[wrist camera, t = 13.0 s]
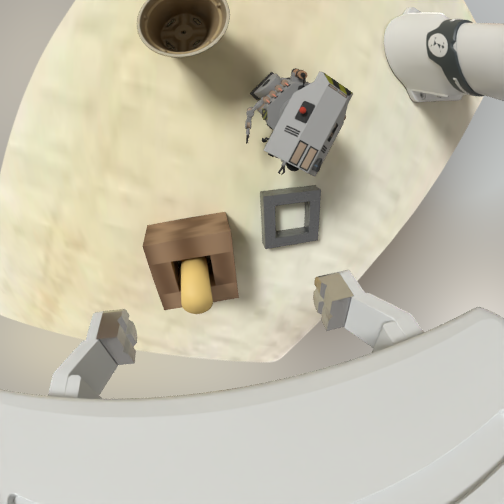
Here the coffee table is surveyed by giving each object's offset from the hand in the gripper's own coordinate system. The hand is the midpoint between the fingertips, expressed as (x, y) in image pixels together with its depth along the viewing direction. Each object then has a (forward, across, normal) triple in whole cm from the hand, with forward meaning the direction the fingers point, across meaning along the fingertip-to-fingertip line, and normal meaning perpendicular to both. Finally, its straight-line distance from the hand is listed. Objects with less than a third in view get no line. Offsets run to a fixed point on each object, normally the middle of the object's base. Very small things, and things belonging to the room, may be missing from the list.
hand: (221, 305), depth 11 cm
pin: (+29, +4, +16) cm, 34 cm away
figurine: (+30, -10, -3) cm, 32 cm away
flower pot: (+30, +1, -16) cm, 34 cm away
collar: (+30, -12, +13) cm, 35 cm away
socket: (+29, +4, +16) cm, 34 cm away
